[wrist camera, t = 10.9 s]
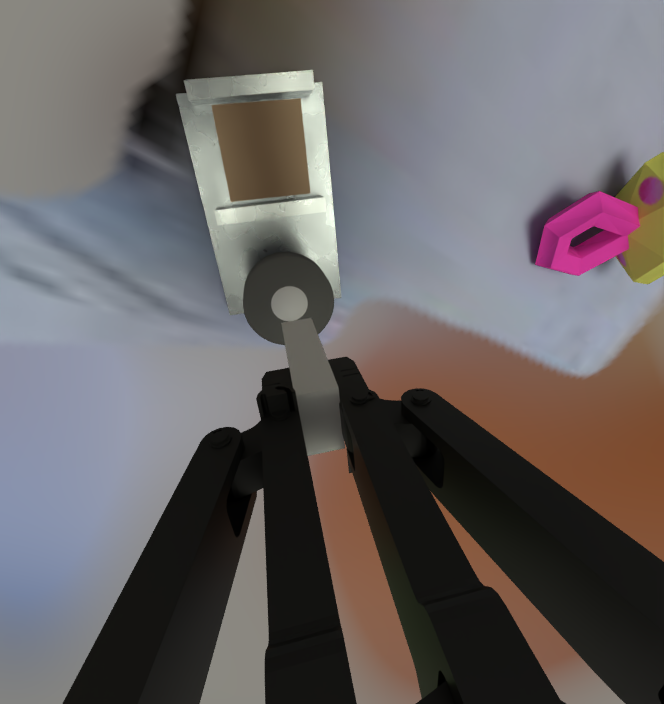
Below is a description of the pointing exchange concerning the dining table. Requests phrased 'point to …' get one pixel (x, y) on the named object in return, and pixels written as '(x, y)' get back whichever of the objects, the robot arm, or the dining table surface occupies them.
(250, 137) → the block
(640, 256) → the toy
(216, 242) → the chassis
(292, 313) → the wheel
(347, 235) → the dining table surface
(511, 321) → the dining table surface
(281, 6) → the dining table surface
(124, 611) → the robot arm
